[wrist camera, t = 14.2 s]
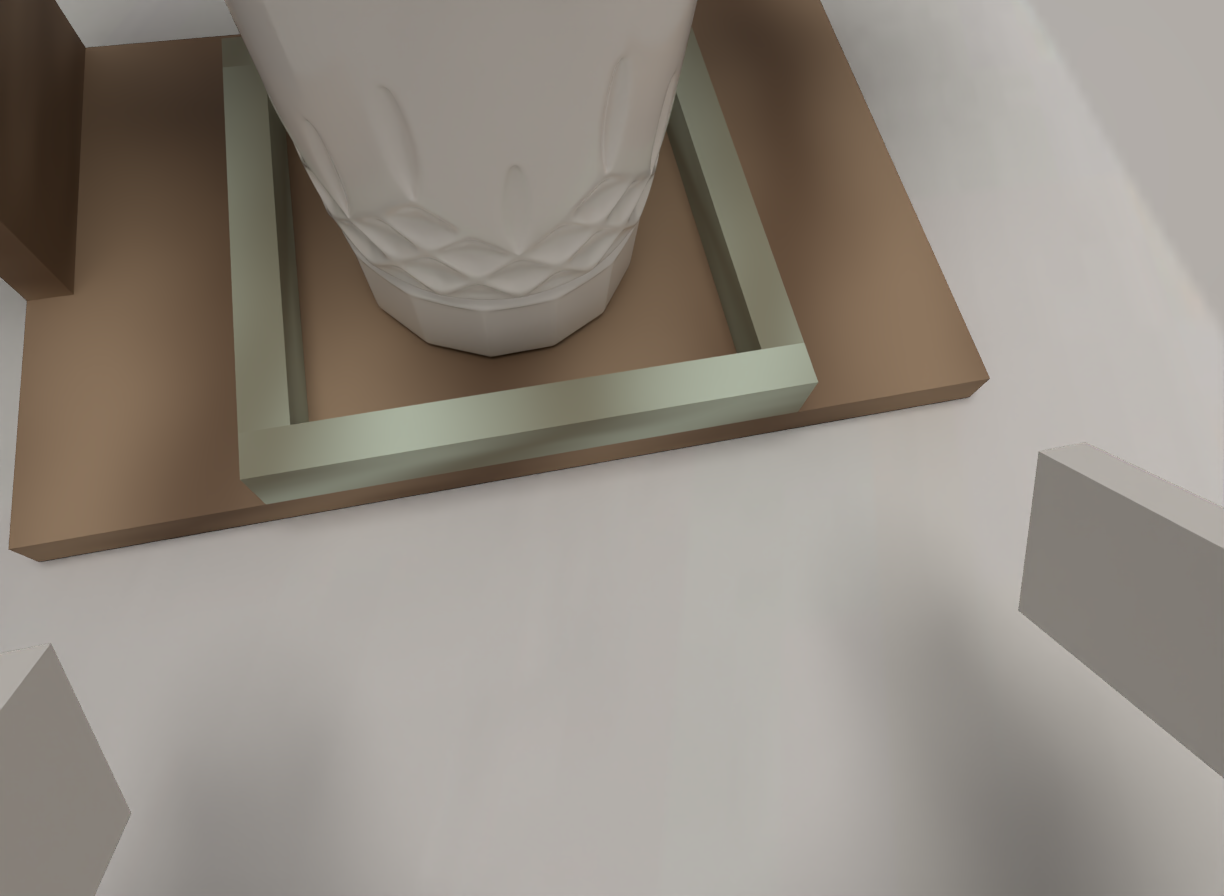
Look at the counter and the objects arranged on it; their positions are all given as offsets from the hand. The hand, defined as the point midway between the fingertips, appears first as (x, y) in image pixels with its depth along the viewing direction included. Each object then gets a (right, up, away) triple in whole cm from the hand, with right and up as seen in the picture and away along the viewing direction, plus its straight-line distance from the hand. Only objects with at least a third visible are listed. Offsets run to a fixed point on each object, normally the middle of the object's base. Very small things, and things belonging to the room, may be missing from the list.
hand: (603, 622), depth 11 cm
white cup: (-3, +7, +9) cm, 12 cm away
